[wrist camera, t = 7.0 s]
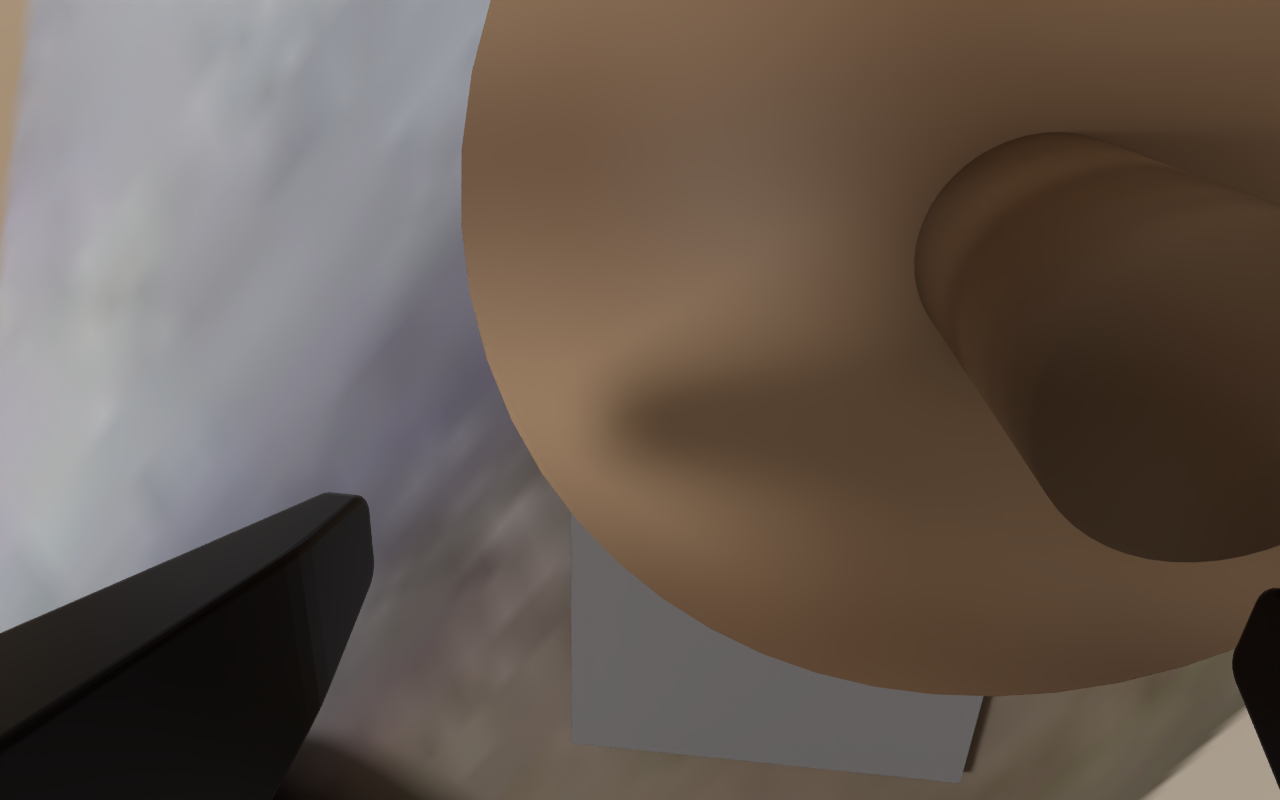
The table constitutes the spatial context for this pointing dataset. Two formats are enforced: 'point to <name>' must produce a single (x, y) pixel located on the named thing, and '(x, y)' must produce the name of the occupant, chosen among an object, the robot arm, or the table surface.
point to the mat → (736, 691)
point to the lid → (897, 318)
